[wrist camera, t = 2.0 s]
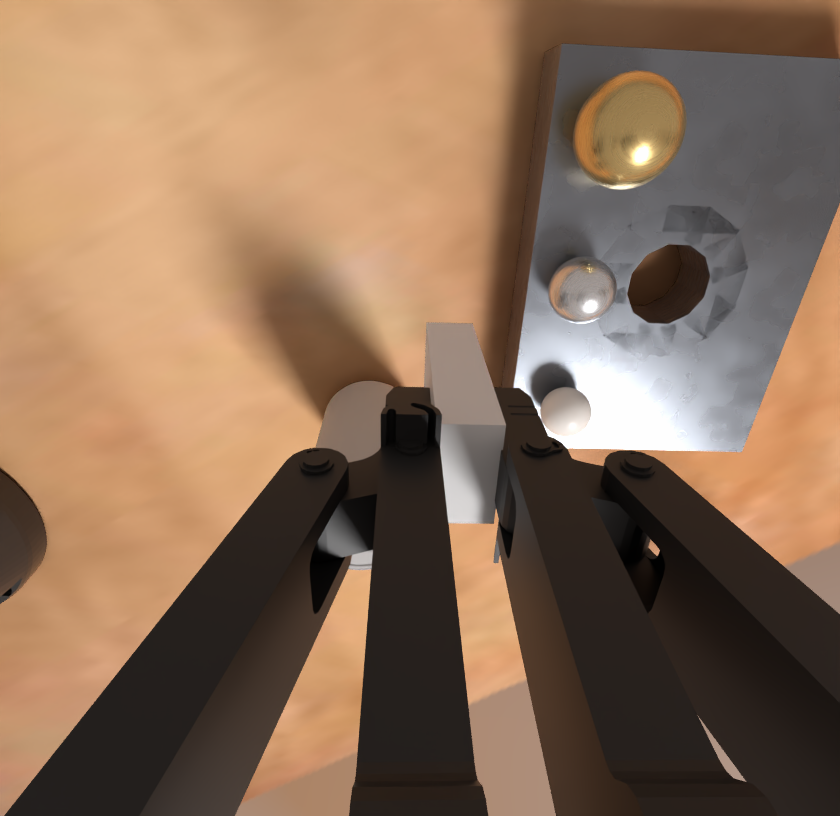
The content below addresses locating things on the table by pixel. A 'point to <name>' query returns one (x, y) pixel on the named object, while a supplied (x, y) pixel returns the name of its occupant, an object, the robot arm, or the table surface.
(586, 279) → the steel ball
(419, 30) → the table surface
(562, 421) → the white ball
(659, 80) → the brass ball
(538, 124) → the plate
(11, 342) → the table surface
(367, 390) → the beverage can
